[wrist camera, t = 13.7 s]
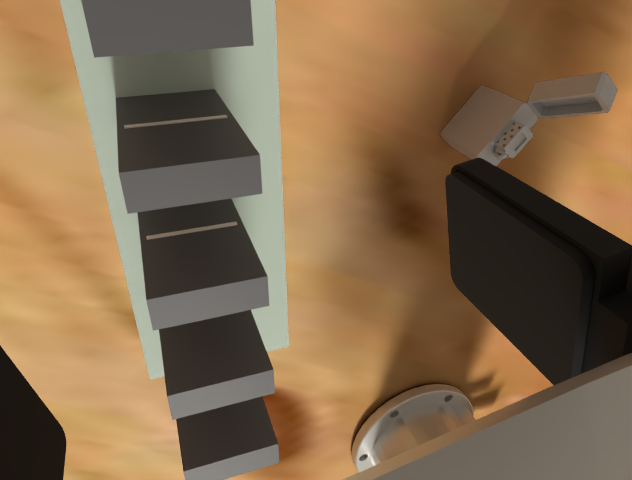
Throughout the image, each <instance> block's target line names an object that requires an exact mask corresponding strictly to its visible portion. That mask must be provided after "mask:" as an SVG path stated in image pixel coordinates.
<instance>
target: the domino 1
mask: <svg viewBox="0 0 632 480" xmlns="http://www.w3.org/2000/svg"><path fill="white" fill-rule="evenodd" d="M81 2H82V6H83V10H84V15H85V19H86V24H87V28H88V33H89V37H90V41H91V46H92V50H93V55H94V58H95V57H109V56H122V55H135V54H149V53H162V52H175V51H189V50H202V49H215V48H228V47H242V46H254V42H253V28H252V14H251V0H81Z"/></svg>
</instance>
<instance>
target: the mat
mask: <svg viewBox="0 0 632 480" xmlns="http://www.w3.org/2000/svg"><path fill="white" fill-rule="evenodd" d="M60 3H61V7H62V11H63V15H64V20H65V24H66V28H67V32H68V36H69V41H70V45H71V49H72V53H73V58H74V62H75V66H76V70H77V74H78V79H79V83H80V87H81V91H82V96H83V100H84V104H85V108H86V112H87V117H88V121H89V125H90V129H91V134H92V138H93V142H94V146H95V150H96V155H97V159H98V163H99V167H100V172H101V176H102V180H103V184H104V188H105V193H106V197H107V201H108V205H109V210H110V214H111V218H112V222H113V227H114V231H115V235H116V239H117V243H118V248H119V252H120V256H121V260H122V265H123V269H124V273H125V277H126V281H127V286H128V290H129V294H130V298H131V303H132V307H133V311H134V315H135V319H136V324H137V328H138V332H139V336H140V341H141V345H142V349H143V353H144V357H145V362H146V366H147V370H148V374H149V379H150V380H151V379H155V378H160V377H164V376H165V375H164V367H163V359H162V351H161V343H160V335H159V329H158V330H154V331H153V329H152V324H151V319H150V315H149V310H148V306H147V301H146V292H145V282H144V273H143V263H142V253H141V243H140V233H139V224H138V214H137V213H130V214H127V209H126V204H125V200H124V195H123V191H122V186H121V181H120V177H119V169H118V144H117V119H116V98H119V97H131V96H142V95H154V94H165V93H176V92H188V91H199V90H211V89H215V90H216V91H217V93H218V94H219V96H220V97H221V99H222V100H223V102H224V103H225V105H226V106H227V107H228V109H229V110H230V112H231V113H232V115H233V116H234V118H235V119H236V121H237V122H238V124H239V125H240V126H241V128H242V129H243V131H244V132H245V134H246V135H247V137H248V138H249V140H250V141H251V142H252V144H253V145H254V147H255V148H256V150H257V151H258V153H259V154H260V162H261V178H262V194H257V195H251V196H244V197H237V198H231V199H232V201H233V203H234V205H235V207H236V209H237V211H238V214H239V216H240V218H241V220H242V222H243V224H244V227H245V229H246V231H247V233H248V235H249V237H250V239H251V242H252V244H253V246H254V248H255V250H256V252H257V254H258V257H259V259H260V261H261V263H262V265H263V267H264V270H265V272H266V274H267V276H268V291H269V306H266V307H261V308H257V309H252V310H251V312H252V314H253V317H254V320H255V322H256V325H257V328H258V330H259V333H260V336H261V338H262V341H263V343H264V346H265V349H266V351H267V352H268V351H272V350H277V349H281V348H285V347H289V338H288V313H287V288H286V262H285V237H284V212H283V186H282V161H281V136H280V110H279V85H278V60H277V34H276V9H275V0H251V14H252V28H253V42H254V46H242V47H228V48H215V49H202V50H189V51H175V52H162V53H149V54H135V55H122V56H109V57H95V58H94V55H93V50H92V46H91V41H90V37H89V33H88V28H87V24H86V19H85V15H84V10H83V6H82V2H81V0H60Z"/></svg>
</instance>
